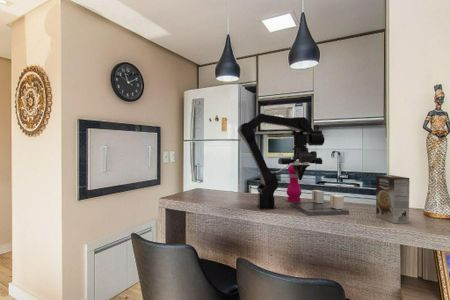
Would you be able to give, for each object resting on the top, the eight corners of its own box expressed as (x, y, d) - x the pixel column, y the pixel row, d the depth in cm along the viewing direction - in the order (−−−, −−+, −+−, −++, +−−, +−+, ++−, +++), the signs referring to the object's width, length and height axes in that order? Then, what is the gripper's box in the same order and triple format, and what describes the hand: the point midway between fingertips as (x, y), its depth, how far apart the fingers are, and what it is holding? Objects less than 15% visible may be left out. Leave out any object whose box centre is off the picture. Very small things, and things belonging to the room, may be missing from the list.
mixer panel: (308, 215, 98) (308, 211, 98) (290, 204, 118) (290, 201, 117) (349, 214, 100) (349, 210, 100) (324, 203, 119) (324, 200, 119)
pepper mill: (302, 203, 121) (302, 161, 121) (286, 202, 123) (286, 161, 123) (300, 200, 129) (300, 160, 128) (286, 199, 130) (286, 160, 130)
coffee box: (375, 216, 97) (375, 174, 97) (390, 216, 97) (390, 174, 97) (392, 223, 88) (393, 177, 88) (410, 223, 88) (410, 177, 88)
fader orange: (336, 209, 101) (336, 196, 101) (330, 206, 106) (330, 194, 106) (343, 208, 102) (343, 196, 102) (337, 206, 107) (337, 194, 107)
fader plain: (317, 203, 113) (317, 191, 113) (312, 200, 118) (312, 190, 118) (323, 202, 113) (323, 191, 113) (318, 200, 118) (318, 189, 118)
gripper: (286, 145, 104) (286, 182, 104) (329, 145, 107) (329, 182, 107) (277, 145, 115) (277, 179, 116) (316, 145, 118) (316, 179, 118)
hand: (300, 180), depth 114 cm, fingers closed
